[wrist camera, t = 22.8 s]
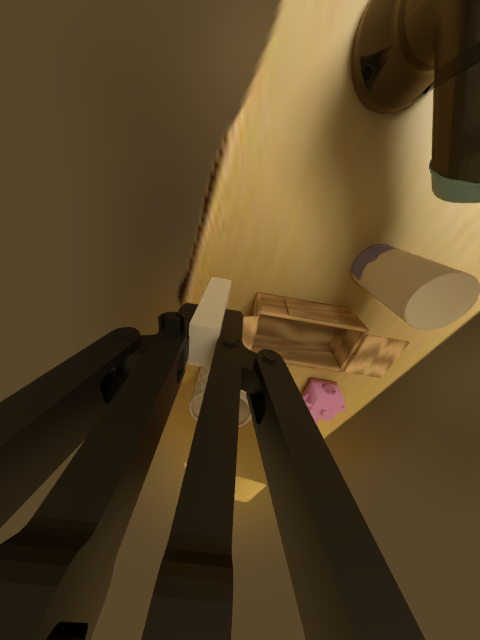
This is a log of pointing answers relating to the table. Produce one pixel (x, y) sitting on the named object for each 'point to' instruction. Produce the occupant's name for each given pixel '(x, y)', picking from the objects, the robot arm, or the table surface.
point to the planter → (199, 393)
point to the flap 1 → (249, 330)
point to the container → (415, 286)
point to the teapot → (323, 399)
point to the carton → (306, 331)
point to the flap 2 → (375, 356)
